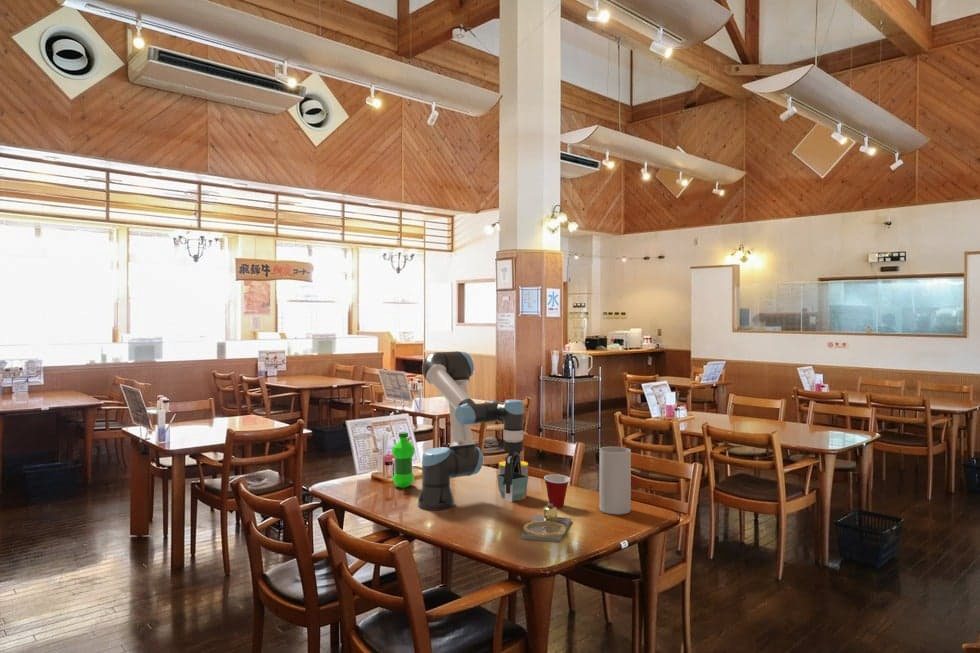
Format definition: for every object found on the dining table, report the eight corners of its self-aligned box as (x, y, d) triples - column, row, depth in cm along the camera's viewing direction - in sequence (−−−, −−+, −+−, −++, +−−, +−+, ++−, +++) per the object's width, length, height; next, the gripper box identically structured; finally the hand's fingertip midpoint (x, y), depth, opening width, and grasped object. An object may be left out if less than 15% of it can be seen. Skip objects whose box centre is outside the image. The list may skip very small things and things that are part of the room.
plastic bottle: (397, 490, 295) (397, 435, 295) (389, 485, 304) (389, 432, 304) (417, 487, 300) (417, 433, 300) (409, 482, 309) (409, 430, 309)
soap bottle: (494, 499, 280) (494, 450, 280) (503, 491, 292) (503, 445, 292) (523, 501, 276) (523, 452, 276) (531, 494, 288) (531, 446, 288)
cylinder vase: (596, 506, 268) (596, 446, 268) (625, 505, 269) (625, 446, 269) (604, 515, 256) (604, 452, 256) (634, 514, 257) (634, 452, 257)
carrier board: (519, 538, 229) (519, 516, 229) (534, 518, 253) (534, 498, 253) (561, 542, 225) (561, 520, 224) (572, 521, 249) (572, 501, 248)
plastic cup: (556, 511, 262) (556, 481, 262) (538, 505, 270) (538, 476, 270) (575, 506, 268) (575, 478, 268) (557, 500, 277) (557, 473, 277)
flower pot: (513, 494, 253) (513, 471, 253) (528, 499, 247) (528, 476, 246) (496, 497, 248) (496, 474, 248) (511, 503, 241) (511, 479, 241)
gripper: (515, 447, 234) (514, 506, 235) (529, 435, 257) (528, 489, 258) (495, 445, 236) (494, 504, 237) (511, 433, 259) (510, 487, 260)
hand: (512, 496), depth 247 cm, fingers closed on flower pot, 11 cm apart
